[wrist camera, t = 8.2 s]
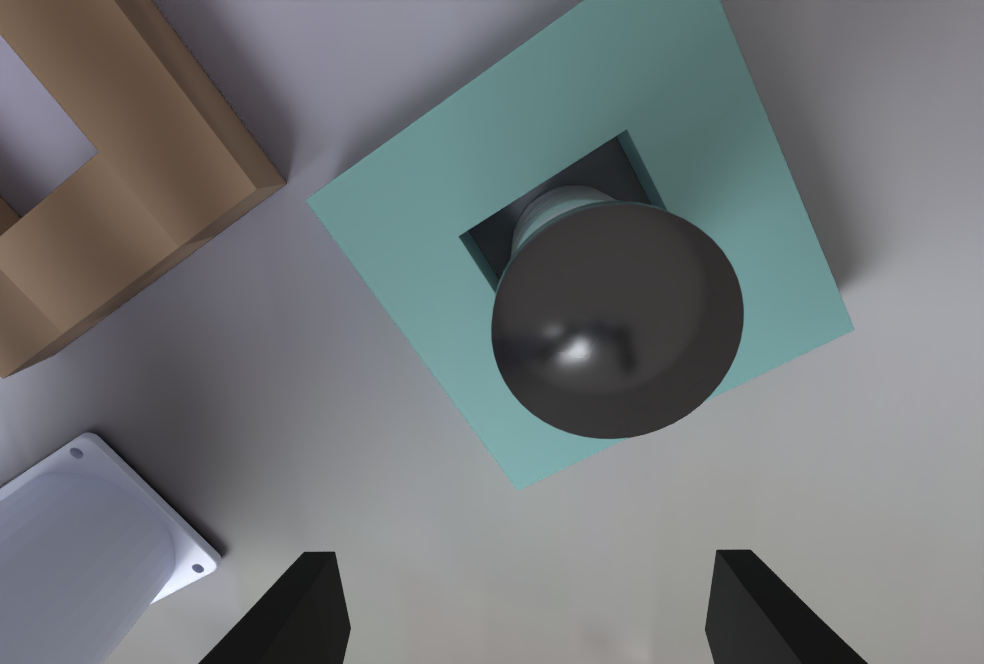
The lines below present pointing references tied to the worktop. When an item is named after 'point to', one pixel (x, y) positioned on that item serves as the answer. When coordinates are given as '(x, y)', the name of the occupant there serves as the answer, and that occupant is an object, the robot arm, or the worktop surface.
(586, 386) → the lock pin
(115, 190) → the mount board
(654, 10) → the socket board
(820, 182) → the worktop surface
